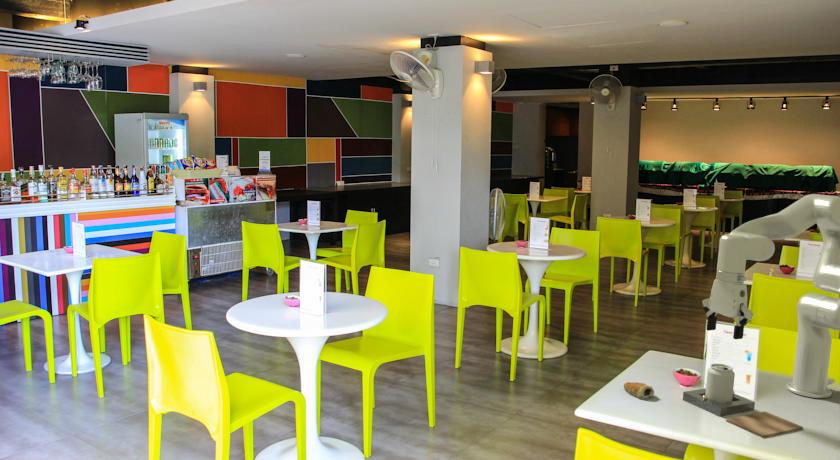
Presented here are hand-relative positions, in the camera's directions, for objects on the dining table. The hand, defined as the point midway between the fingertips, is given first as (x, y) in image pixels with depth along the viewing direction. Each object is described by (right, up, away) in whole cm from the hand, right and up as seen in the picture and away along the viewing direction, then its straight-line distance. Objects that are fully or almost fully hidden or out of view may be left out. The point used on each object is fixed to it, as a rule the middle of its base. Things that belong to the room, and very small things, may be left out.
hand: (724, 334), depth 212 cm
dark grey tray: (-1, -22, +3) cm, 22 cm away
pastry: (-22, -20, +10) cm, 32 cm away
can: (-1, -22, +3) cm, 22 cm away
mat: (+6, -24, -11) cm, 27 cm away
